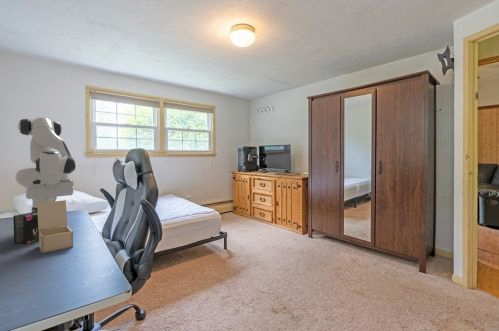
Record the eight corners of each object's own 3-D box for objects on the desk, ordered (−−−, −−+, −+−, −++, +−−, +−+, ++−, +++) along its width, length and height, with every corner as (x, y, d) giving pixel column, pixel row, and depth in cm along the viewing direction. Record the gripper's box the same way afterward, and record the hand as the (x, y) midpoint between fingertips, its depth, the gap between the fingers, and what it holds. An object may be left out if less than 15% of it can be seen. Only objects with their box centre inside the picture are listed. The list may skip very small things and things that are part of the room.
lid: (38, 230, 124) (38, 230, 125) (67, 225, 133) (67, 225, 133) (37, 202, 126) (37, 203, 127) (65, 200, 135) (65, 200, 136)
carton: (39, 246, 124) (38, 230, 124) (67, 240, 133) (67, 226, 132) (42, 253, 114) (41, 236, 114) (73, 246, 123) (72, 231, 123)
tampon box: (27, 244, 127) (26, 216, 126) (13, 243, 129) (12, 215, 128) (48, 237, 138) (47, 212, 137) (35, 236, 139) (34, 211, 139)
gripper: (72, 178, 143) (72, 202, 144) (25, 181, 129) (25, 206, 129) (74, 179, 139) (74, 203, 139) (25, 181, 124) (26, 208, 124)
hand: (50, 205), depth 134 cm, fingers closed
